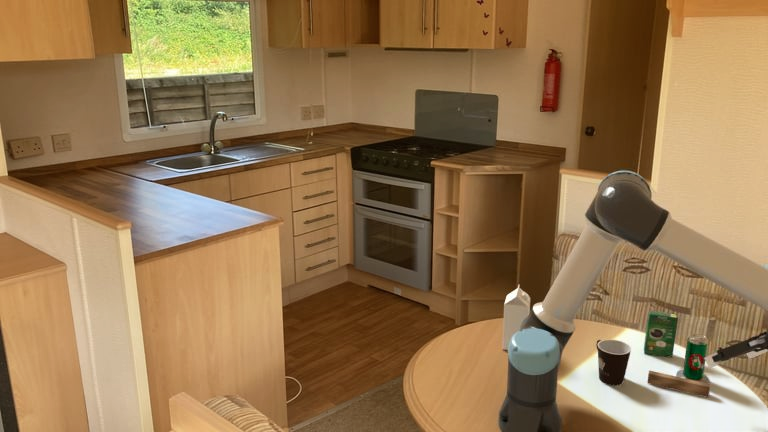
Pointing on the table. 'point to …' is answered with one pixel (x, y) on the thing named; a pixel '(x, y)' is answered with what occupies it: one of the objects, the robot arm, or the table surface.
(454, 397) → the table surface
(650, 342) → the coffee box
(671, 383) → the rail
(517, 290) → the milk carton
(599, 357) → the coffee mug
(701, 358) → the soda can
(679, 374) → the grey domed button
